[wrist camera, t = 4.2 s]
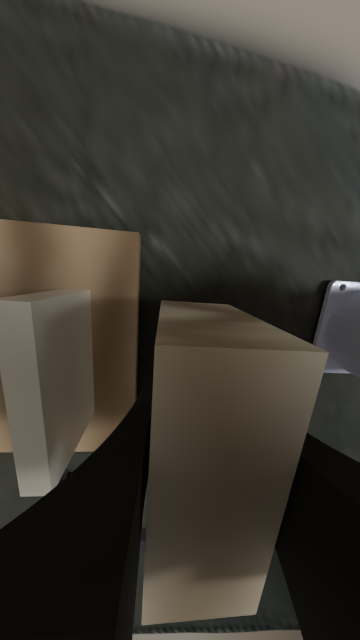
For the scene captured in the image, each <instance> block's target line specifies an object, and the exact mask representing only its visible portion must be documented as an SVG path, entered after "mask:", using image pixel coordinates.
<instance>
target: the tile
mask: <svg viewBox="0 0 360 640" xmlns="http://www.w3.org/2000/svg"><path fill="white" fill-rule="evenodd" d="M0 374H1V380H2V386H3V393H4V399H5V405H6V411H7V417H8V424H9V430H10V436H11V442H12V448H13V454H14V461H15V467H16V473H17V479H18V485H19V491H20V497H25V496H45V495H46V494H47V493H48V492H50V491H51V490H52V489H53V488H54V487H56V486H57V484H58V483H59V481H60V479H61V477H62V475H63V473H64V471H65V469H66V467H67V465H68V463H69V461H70V459H71V457H72V455H73V453H74V451H75V449H76V447H77V445H78V443H79V442H80V440H81V438H82V436H83V434H84V432H85V430H86V428H87V426H88V424H89V422H90V420H91V418H92V416H93V414H94V412H95V411H94V382H93V353H92V325H91V296H90V290H87V289H72V288H66V289H59V290H52V291H45V292H38V293H31V294H24V295H17V296H10V297H3V298H0Z"/></svg>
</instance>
